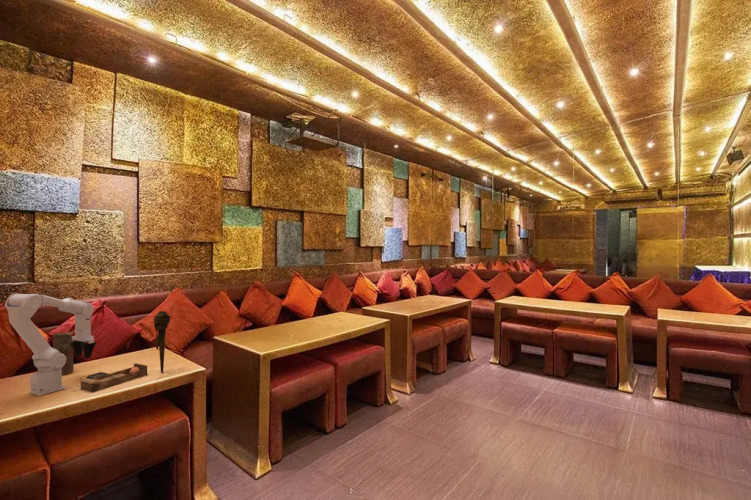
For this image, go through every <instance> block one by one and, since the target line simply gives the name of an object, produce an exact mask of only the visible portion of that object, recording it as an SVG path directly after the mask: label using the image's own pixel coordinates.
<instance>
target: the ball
mask: <svg viewBox="0 0 751 500" xmlns="http://www.w3.org/2000/svg"><path fill="white" fill-rule="evenodd" d="M133 367H134V366H133ZM137 371H140V369H139V368H138V367H134V368H132V369H131V370H130V373H133V372H137Z"/></svg>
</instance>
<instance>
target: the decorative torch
mask: <svg viewBox="0 0 751 500" xmlns="http://www.w3.org/2000/svg"><path fill="white" fill-rule="evenodd" d="M170 321H171V315H169V314H168V313H167V311H165V310H161V311H158V312H157V313H156V315H154V317H153V323H154V324H153V327H154V329H155V333H156V334H155V335H156V336H155V340H154V345H155V348H156V350H157V351H158V352H159V363H160V364H159V365H160V373H162V374H163V373H164V365H165V363H164V362H165V352H166V351H165V350H166V334H167V333H166V331H167V328H168V326H169V324H170Z"/></svg>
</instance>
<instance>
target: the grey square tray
mask: <svg viewBox="0 0 751 500" xmlns="http://www.w3.org/2000/svg"><path fill="white" fill-rule="evenodd" d="M107 374H109V373H107V372H104V371H99V372H95V373H93V374H92V373H91V374H88V375H87V377H86V379H93V378H96V377H100V376H103V375H107Z"/></svg>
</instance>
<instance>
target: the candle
mask: <svg viewBox="0 0 751 500" xmlns="http://www.w3.org/2000/svg"><path fill="white" fill-rule="evenodd" d="M72 336H73V332H72V331H70V332H59V333H53V335H52V339H53V340H52V341H53V343H52V344H53V345H52V346H53V347H52V348H54V349H56V350H58V351H59V352H60V353H61V354H64V355H65V356H66V363H65V365H64V366H63V368H62V376H64V375H68V374H70V373H72V372H74V368H75V367H74V366H75V365H74V350H73V348H72V346H71V345H70V342H73V341H72Z"/></svg>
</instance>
